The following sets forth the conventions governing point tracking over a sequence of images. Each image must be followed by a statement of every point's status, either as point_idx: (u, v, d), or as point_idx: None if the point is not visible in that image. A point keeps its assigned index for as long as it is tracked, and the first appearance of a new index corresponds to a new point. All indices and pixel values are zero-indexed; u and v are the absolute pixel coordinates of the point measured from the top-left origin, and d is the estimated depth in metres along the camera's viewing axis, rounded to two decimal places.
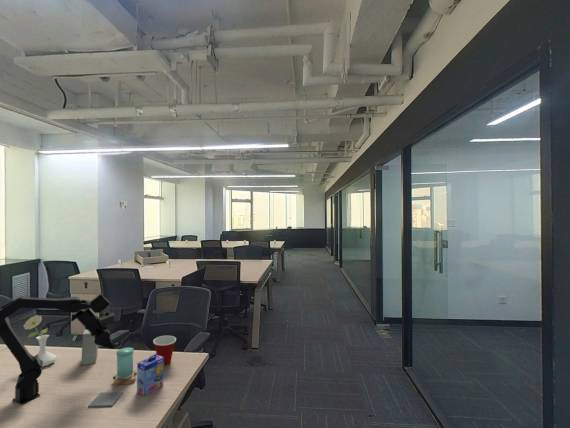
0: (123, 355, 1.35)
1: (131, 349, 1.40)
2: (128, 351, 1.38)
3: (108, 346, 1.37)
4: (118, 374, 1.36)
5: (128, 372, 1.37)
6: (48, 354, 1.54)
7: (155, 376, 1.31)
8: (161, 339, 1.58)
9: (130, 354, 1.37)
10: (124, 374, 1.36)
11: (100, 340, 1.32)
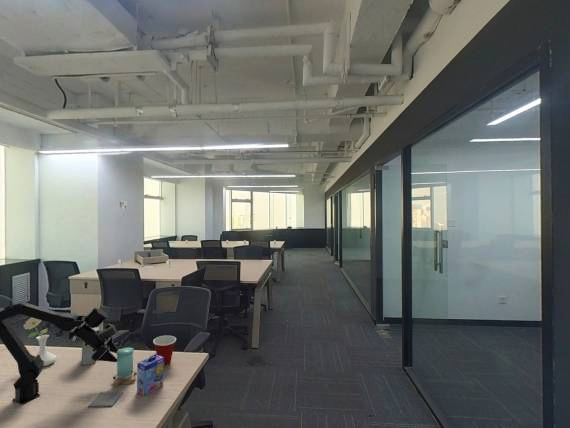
0: (123, 355, 1.35)
1: (131, 349, 1.40)
2: (128, 351, 1.38)
3: (110, 360, 1.31)
4: (118, 374, 1.36)
5: (128, 372, 1.37)
6: (48, 354, 1.54)
7: (155, 376, 1.31)
8: (161, 339, 1.58)
9: (130, 354, 1.37)
10: (124, 374, 1.36)
11: (97, 356, 1.26)
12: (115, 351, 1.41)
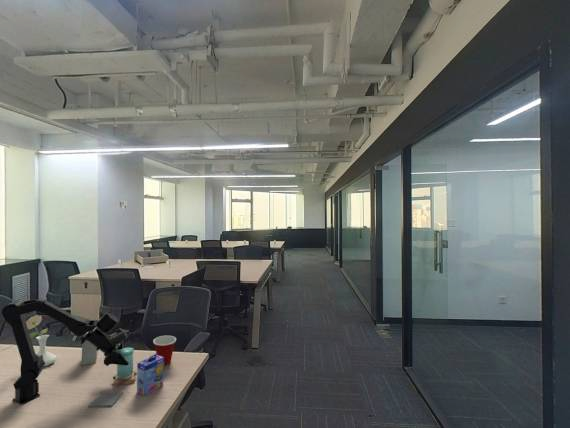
0: (123, 355, 1.35)
1: (131, 349, 1.40)
2: (128, 351, 1.38)
3: (121, 363, 1.34)
4: (118, 374, 1.36)
5: (128, 372, 1.37)
6: (48, 354, 1.54)
7: (155, 376, 1.31)
8: (161, 339, 1.58)
9: (130, 354, 1.37)
10: (124, 374, 1.36)
11: (109, 361, 1.28)
12: None
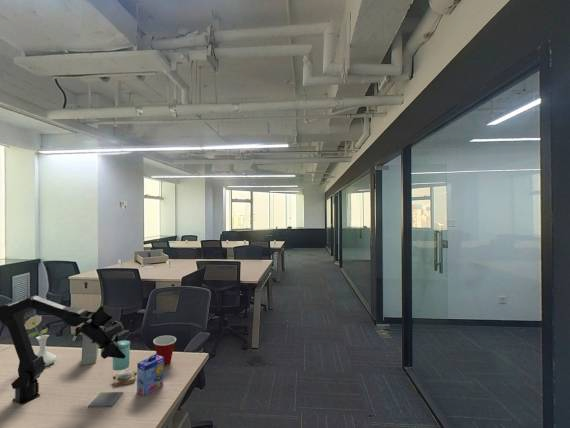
0: (120, 348, 1.31)
1: (127, 342, 1.35)
2: (125, 344, 1.33)
3: (118, 356, 1.29)
4: (114, 368, 1.31)
5: (125, 365, 1.32)
6: (48, 354, 1.54)
7: (155, 376, 1.31)
8: (161, 339, 1.58)
9: (127, 347, 1.33)
10: (121, 367, 1.31)
11: (107, 353, 1.23)
12: None
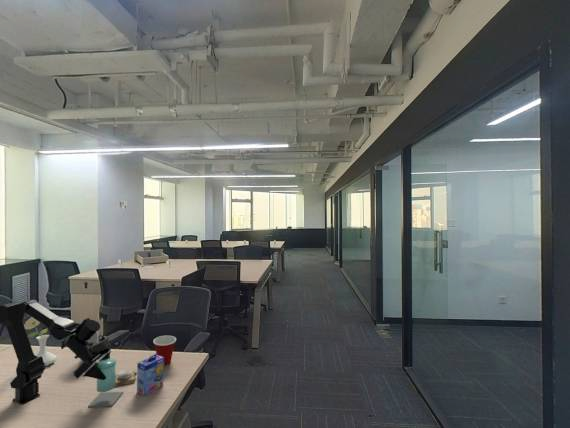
0: (100, 368, 1.20)
1: (113, 361, 1.24)
2: (108, 363, 1.22)
3: (97, 377, 1.19)
4: (97, 388, 1.21)
5: (106, 388, 1.21)
6: (48, 354, 1.54)
7: (155, 376, 1.31)
8: (161, 339, 1.58)
9: (109, 367, 1.21)
10: (101, 389, 1.20)
11: (78, 374, 1.14)
12: None
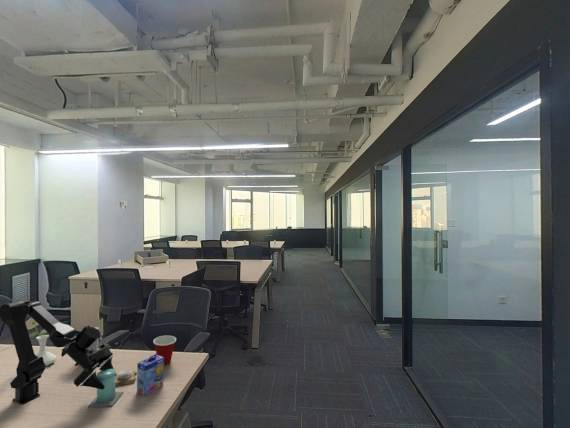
0: (100, 378, 1.20)
1: (113, 372, 1.24)
2: (108, 374, 1.22)
3: (95, 386, 1.18)
4: (97, 399, 1.21)
5: (106, 398, 1.21)
6: (48, 354, 1.54)
7: (155, 376, 1.31)
8: (161, 339, 1.58)
9: (109, 378, 1.21)
10: (101, 400, 1.20)
11: (79, 382, 1.14)
12: None
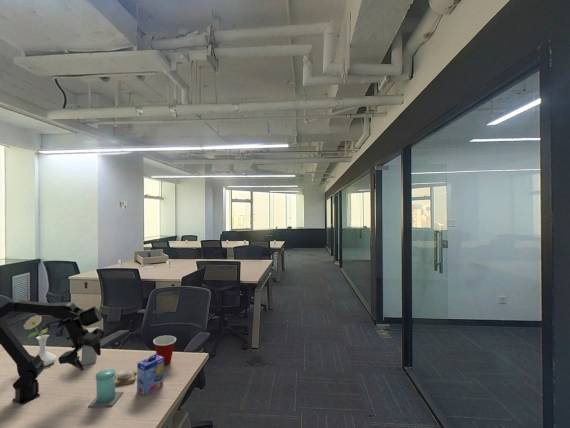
0: (99, 379, 1.20)
1: (112, 372, 1.24)
2: (107, 374, 1.22)
3: (76, 366, 1.27)
4: (97, 399, 1.21)
5: (106, 398, 1.21)
6: (48, 354, 1.54)
7: (155, 376, 1.31)
8: (161, 339, 1.58)
9: (108, 378, 1.21)
10: (101, 400, 1.20)
11: (62, 361, 1.23)
12: (97, 352, 1.37)
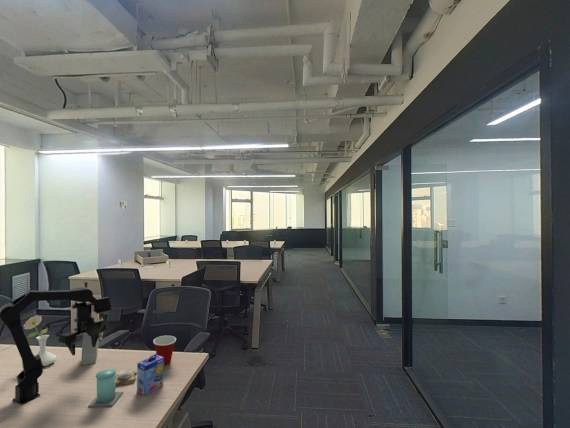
0: (99, 378, 1.20)
1: (112, 372, 1.24)
2: (107, 374, 1.22)
3: (70, 349, 1.34)
4: (97, 398, 1.21)
5: (105, 398, 1.21)
6: (48, 354, 1.54)
7: (155, 376, 1.31)
8: (161, 339, 1.58)
9: (108, 378, 1.21)
10: (101, 400, 1.20)
11: (60, 340, 1.30)
12: (92, 343, 1.43)
